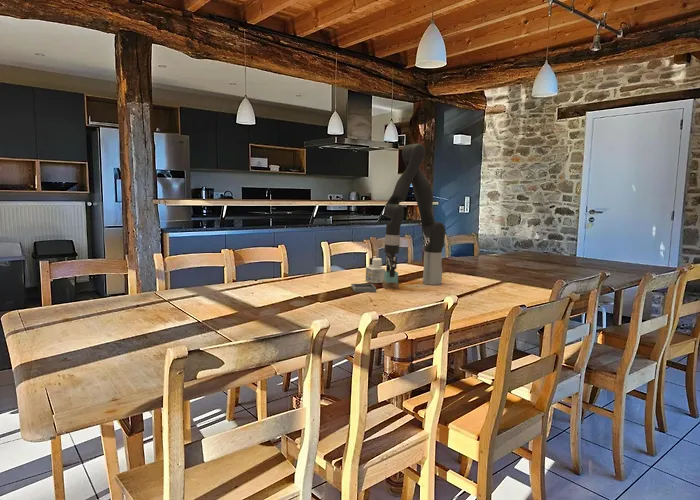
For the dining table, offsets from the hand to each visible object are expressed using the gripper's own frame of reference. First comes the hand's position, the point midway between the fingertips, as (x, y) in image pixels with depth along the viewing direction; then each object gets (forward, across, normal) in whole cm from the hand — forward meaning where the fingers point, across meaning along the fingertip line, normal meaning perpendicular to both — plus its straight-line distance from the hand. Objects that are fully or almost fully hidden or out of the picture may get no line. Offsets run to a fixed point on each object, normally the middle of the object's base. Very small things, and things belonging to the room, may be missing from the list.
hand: (390, 275), depth 243 cm
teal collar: (+3, 0, 0) cm, 3 cm away
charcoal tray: (+6, -6, +14) cm, 17 cm away
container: (+6, +15, +4) cm, 17 cm away
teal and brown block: (+6, 0, -1) cm, 6 cm away
